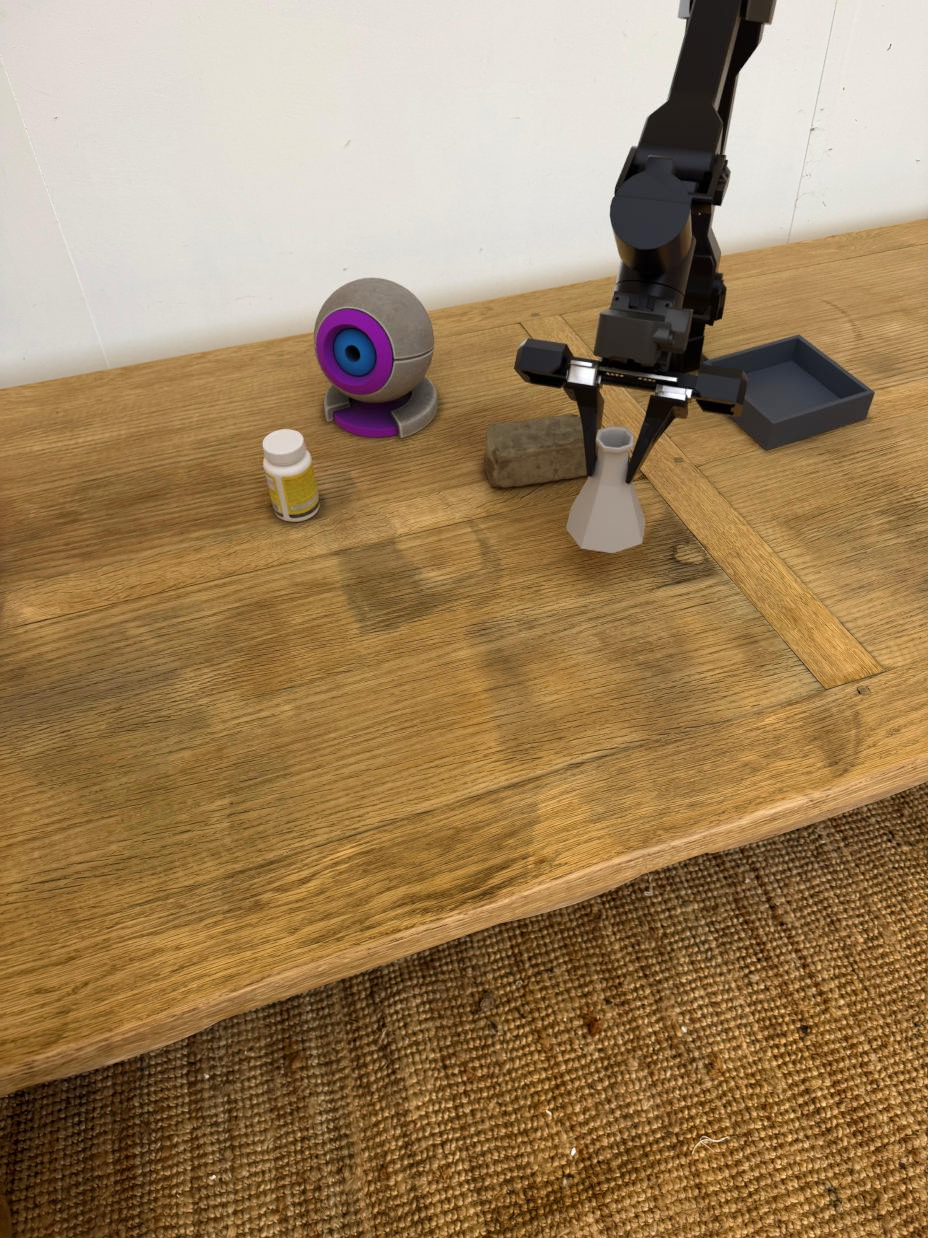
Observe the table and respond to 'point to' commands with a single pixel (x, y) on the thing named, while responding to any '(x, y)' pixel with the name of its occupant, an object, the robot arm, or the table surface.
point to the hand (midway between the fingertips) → (608, 480)
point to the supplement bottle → (290, 476)
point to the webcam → (376, 359)
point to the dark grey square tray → (794, 392)
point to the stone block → (535, 451)
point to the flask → (608, 499)
